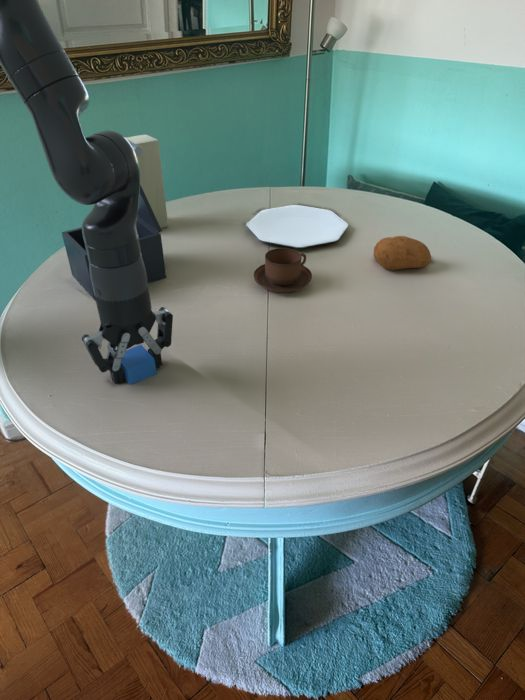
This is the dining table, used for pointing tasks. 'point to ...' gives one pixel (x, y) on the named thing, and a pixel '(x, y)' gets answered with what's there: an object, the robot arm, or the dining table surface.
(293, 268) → the cup and saucer
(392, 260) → the potato
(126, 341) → the robot arm
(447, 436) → the dining table surface
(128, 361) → the blue cube
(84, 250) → the box
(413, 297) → the dining table surface
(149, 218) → the freezer lid
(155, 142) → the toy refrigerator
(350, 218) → the dining table surface
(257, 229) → the plate
